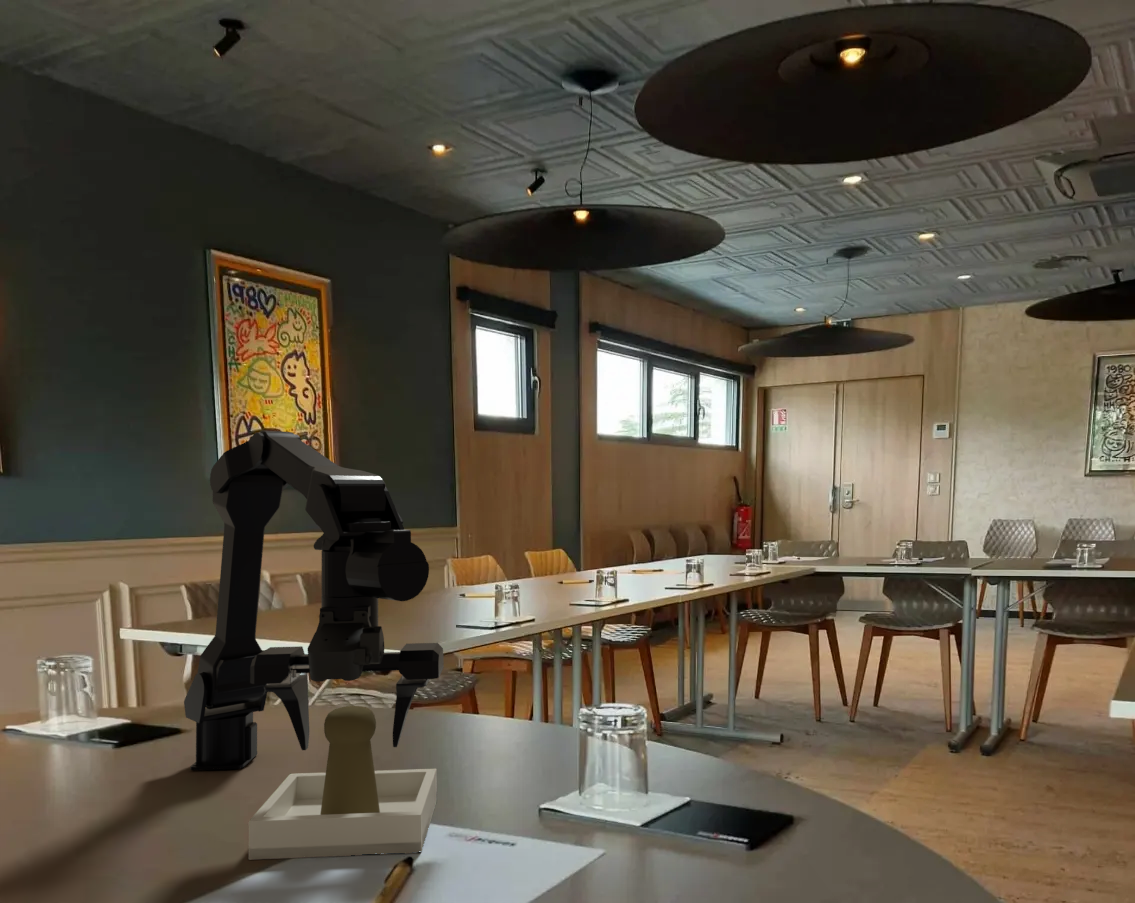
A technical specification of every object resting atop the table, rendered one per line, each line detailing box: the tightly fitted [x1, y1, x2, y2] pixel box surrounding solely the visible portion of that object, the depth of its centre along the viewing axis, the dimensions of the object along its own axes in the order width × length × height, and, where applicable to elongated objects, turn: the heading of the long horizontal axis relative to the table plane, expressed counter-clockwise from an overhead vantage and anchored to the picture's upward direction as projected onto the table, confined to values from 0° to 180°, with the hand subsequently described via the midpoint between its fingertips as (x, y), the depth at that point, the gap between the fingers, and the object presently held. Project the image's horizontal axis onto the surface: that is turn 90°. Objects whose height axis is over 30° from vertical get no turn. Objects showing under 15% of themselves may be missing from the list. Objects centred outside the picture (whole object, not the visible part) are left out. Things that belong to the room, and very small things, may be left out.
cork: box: [320, 705, 380, 815], centre depth 86 cm, size 6×6×11 cm
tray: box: [248, 768, 438, 861], centre depth 86 cm, size 16×14×4 cm
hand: (350, 747), depth 87 cm, fingers open, 9 cm apart
